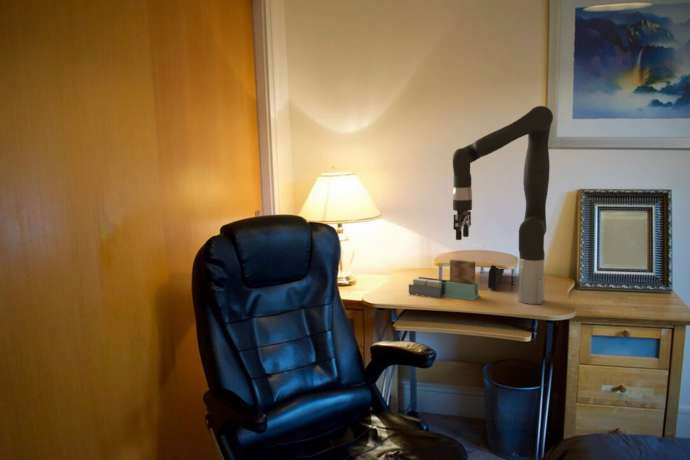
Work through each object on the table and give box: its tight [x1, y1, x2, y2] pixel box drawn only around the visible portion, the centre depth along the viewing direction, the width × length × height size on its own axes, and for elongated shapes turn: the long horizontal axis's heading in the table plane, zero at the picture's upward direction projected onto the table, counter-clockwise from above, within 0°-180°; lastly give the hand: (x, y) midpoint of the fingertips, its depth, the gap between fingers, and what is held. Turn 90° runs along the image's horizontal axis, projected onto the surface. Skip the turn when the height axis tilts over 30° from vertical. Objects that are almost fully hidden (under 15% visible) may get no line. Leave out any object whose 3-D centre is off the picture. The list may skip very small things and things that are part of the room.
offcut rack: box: [408, 276, 450, 299], centre depth 219 cm, size 14×11×5 cm
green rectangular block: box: [444, 281, 480, 302], centre depth 213 cm, size 12×8×6 cm, turn 58°
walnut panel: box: [449, 259, 476, 285], centre depth 212 cm, size 10×2×14 cm, turn 57°
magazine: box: [487, 264, 505, 290], centre depth 233 cm, size 18×3×31 cm
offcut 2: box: [426, 280, 442, 288], centre depth 216 cm, size 6×3×5 cm, turn 58°
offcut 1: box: [412, 277, 428, 286], centre depth 219 cm, size 6×3×5 cm, turn 58°
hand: (462, 238), depth 210 cm, fingers open, 8 cm apart
